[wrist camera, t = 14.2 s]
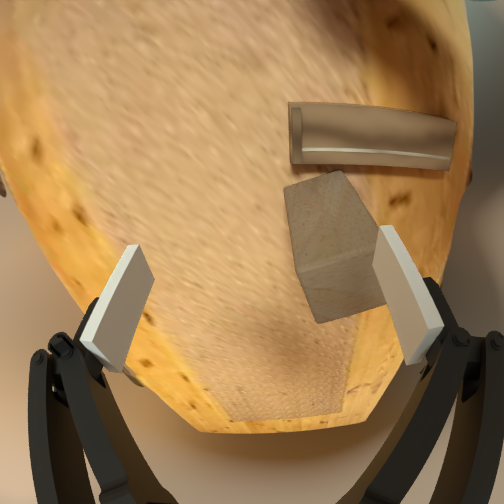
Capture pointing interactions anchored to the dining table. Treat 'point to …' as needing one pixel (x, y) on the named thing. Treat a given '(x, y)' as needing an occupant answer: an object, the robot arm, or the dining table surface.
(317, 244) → the wooden block
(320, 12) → the dining table surface
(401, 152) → the curved panel
